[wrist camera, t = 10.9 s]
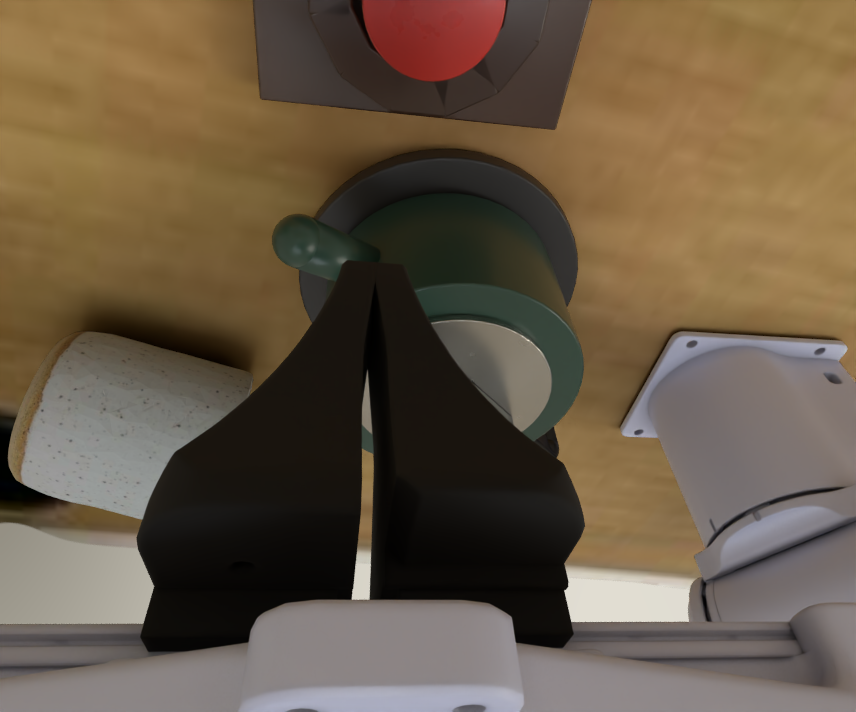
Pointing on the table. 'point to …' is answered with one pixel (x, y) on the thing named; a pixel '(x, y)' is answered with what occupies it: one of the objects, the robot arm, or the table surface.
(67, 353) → the ceramic mug
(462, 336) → the kettle
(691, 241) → the table surface
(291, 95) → the switch block
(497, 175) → the kettle base
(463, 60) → the switch button
